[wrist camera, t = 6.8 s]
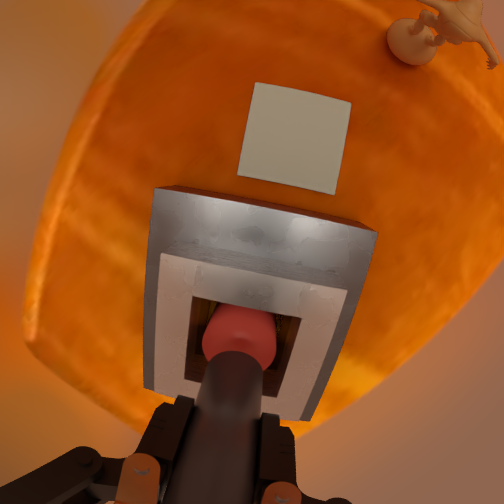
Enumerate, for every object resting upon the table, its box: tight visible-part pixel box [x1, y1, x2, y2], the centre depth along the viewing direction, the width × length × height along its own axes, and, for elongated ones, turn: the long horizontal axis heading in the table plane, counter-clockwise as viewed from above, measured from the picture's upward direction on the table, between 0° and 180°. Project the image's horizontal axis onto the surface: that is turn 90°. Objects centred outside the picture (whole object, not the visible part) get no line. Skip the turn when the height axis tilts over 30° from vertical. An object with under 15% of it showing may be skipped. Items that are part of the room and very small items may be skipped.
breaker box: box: [143, 185, 378, 421], centre depth 20 cm, size 16×14×7 cm
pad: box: [237, 82, 351, 195], centre depth 20 cm, size 7×7×1 cm
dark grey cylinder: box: [161, 351, 263, 504], centre depth 9 cm, size 3×3×11 cm
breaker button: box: [202, 302, 276, 371], centre depth 19 cm, size 4×4×4 cm
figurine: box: [387, 0, 499, 69], centre depth 11 cm, size 8×6×12 cm
